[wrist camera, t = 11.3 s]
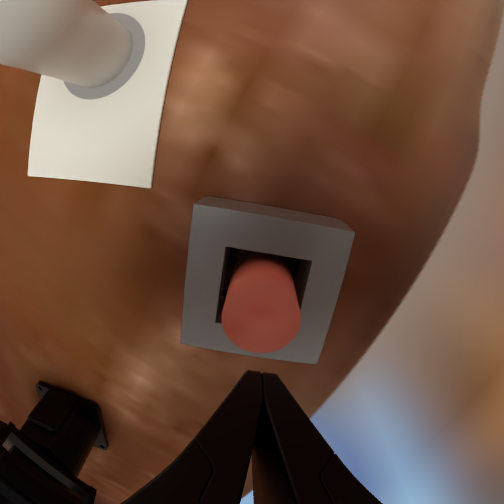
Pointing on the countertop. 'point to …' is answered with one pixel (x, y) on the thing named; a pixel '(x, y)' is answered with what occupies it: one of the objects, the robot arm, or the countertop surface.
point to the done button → (261, 304)
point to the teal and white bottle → (64, 40)
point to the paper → (110, 107)
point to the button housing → (272, 242)
